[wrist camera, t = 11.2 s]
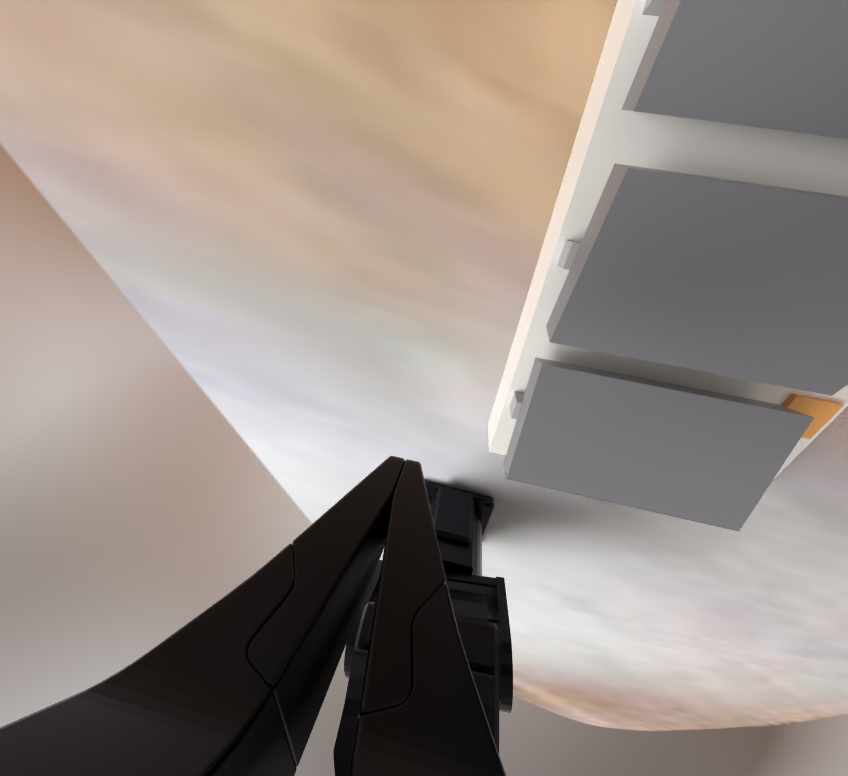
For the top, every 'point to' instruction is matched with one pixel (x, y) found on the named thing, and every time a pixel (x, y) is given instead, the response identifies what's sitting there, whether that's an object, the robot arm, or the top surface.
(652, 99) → the plate
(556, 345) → the switch unit
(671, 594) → the top surface
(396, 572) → the robot arm
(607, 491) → the rocker
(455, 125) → the top surface
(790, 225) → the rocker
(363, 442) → the top surface
